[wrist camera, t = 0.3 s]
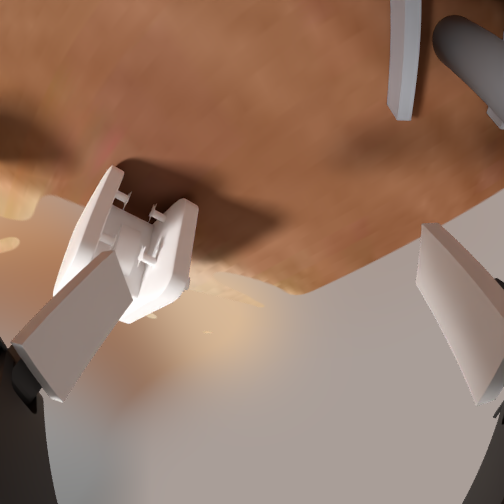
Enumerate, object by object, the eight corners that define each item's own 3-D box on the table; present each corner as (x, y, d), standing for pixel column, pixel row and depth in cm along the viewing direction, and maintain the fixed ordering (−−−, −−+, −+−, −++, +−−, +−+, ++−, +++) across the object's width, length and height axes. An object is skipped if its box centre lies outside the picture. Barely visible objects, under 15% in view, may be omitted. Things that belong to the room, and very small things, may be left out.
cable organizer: (120, 146, 25) (75, 251, 19) (206, 197, 31) (192, 299, 25) (77, 219, 34) (49, 300, 28) (143, 250, 40) (127, 329, 34)
